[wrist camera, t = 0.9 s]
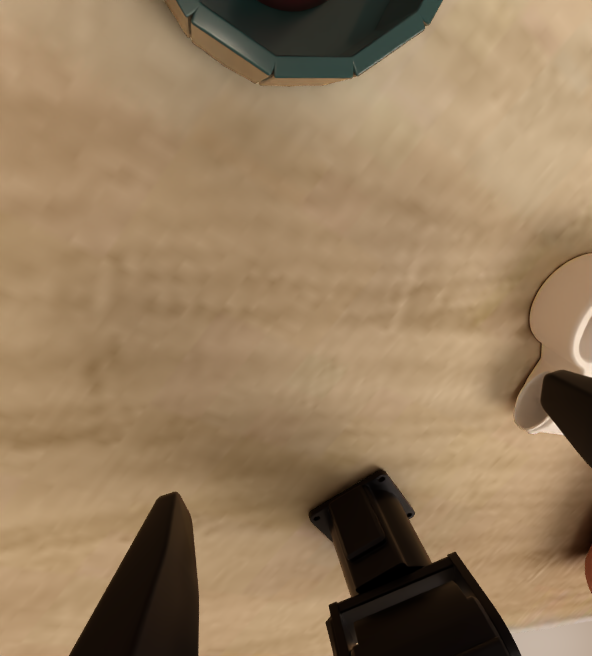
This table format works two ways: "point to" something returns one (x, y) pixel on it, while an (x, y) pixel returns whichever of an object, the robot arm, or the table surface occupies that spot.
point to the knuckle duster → (558, 338)
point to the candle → (292, 4)
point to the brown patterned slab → (589, 568)
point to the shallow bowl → (301, 36)
